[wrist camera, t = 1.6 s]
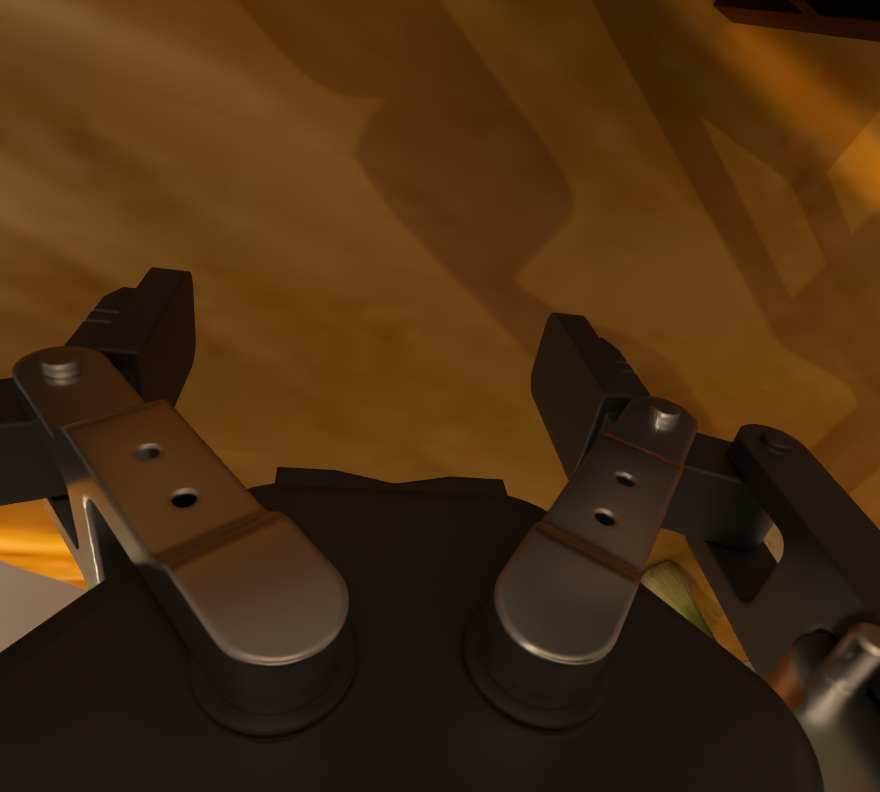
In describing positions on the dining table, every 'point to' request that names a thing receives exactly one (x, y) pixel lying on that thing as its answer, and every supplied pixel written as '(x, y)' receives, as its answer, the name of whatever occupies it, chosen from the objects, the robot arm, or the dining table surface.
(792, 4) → the stand
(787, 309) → the dining table surface
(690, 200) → the dining table surface
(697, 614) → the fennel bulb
